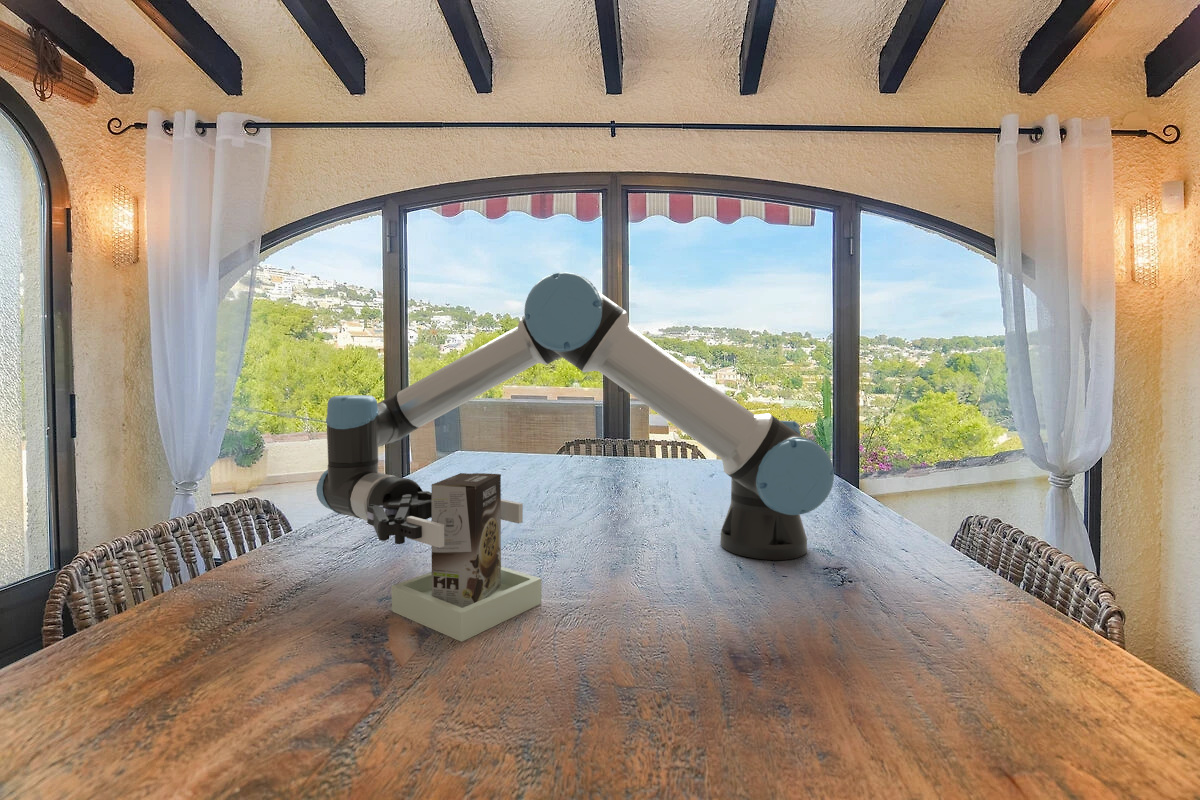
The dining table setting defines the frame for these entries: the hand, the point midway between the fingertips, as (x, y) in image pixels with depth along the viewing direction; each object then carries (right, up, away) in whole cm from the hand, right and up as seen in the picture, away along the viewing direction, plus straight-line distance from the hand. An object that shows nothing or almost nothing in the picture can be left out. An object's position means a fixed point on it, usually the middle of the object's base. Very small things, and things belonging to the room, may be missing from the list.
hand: (484, 524), depth 76 cm
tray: (-3, -12, +3) cm, 12 cm away
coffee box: (-3, -11, +3) cm, 11 cm away
